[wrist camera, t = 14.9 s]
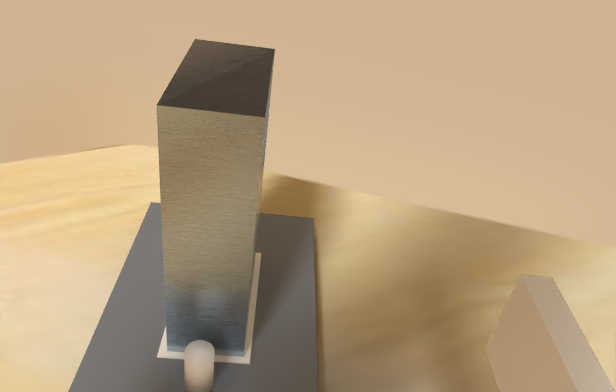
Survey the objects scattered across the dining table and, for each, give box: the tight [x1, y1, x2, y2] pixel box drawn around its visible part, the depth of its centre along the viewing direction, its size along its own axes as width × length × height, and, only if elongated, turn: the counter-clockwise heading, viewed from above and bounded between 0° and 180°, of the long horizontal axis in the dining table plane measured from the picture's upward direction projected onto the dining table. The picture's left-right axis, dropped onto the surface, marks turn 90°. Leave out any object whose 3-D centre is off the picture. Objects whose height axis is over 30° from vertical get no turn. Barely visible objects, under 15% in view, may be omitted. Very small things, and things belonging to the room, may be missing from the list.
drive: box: [157, 39, 275, 357], centre depth 26 cm, size 4×8×14 cm, turn 0°
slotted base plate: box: [69, 202, 318, 392], centre depth 30 cm, size 12×18×4 cm, turn 0°
